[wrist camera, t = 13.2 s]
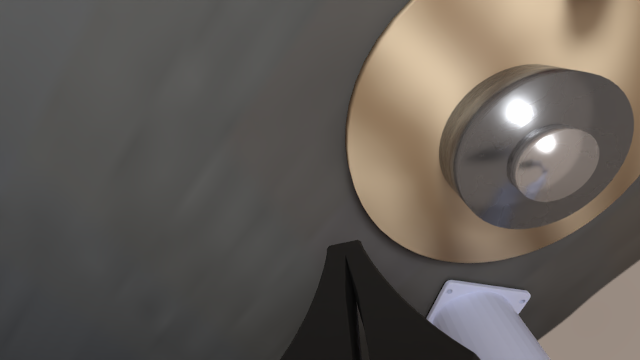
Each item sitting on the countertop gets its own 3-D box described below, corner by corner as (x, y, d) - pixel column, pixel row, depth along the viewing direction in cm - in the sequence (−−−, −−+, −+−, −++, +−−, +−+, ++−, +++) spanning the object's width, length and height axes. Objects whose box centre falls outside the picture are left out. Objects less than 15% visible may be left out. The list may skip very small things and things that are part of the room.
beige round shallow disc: (426, 287, 27) (447, 333, 23) (282, 92, 19) (276, 111, 15) (679, 161, 22) (761, 192, 18) (628, -163, 14) (752, -235, 10)
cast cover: (472, 225, 22) (504, 264, 19) (413, 126, 19) (438, 150, 15) (602, 154, 20) (666, 183, 16) (563, 27, 17) (633, 29, 13)
